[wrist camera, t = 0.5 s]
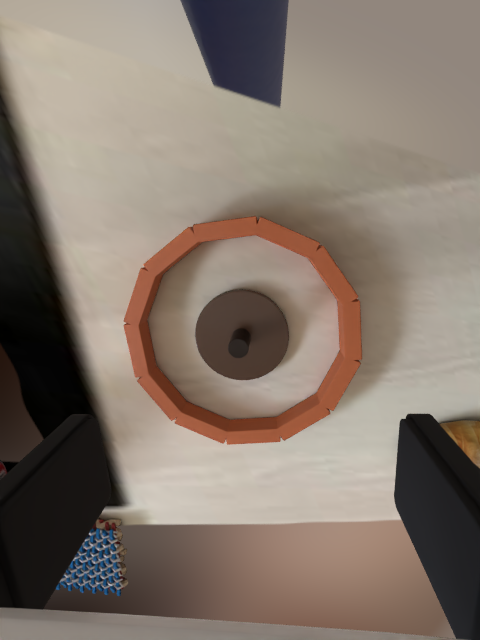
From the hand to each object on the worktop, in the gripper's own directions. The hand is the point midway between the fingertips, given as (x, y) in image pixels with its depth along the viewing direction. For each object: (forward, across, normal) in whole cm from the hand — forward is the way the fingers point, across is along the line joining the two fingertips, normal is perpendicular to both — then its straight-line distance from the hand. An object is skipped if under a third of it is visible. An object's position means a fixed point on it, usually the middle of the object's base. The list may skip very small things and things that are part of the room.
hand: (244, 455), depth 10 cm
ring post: (+22, +2, +3) cm, 22 cm away
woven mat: (+22, +23, +30) cm, 44 cm away
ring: (+22, +2, +3) cm, 22 cm away
